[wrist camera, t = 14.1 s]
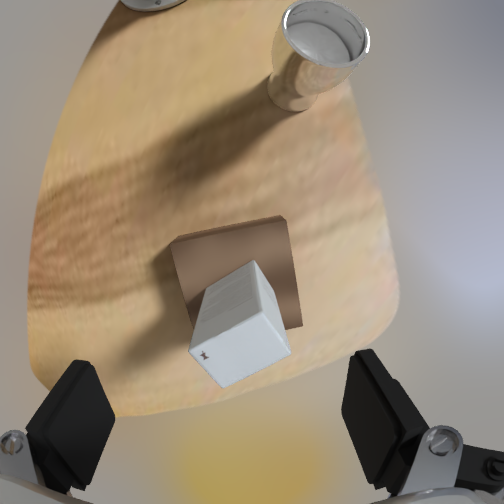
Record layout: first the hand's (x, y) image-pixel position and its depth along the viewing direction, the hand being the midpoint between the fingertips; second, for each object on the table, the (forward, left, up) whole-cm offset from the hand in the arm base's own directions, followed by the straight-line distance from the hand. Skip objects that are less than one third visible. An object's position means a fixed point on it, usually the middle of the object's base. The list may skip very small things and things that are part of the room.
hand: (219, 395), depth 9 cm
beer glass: (-18, +8, -26) cm, 32 cm away
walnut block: (+4, 0, -26) cm, 26 cm away
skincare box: (+4, +1, -21) cm, 21 cm away
